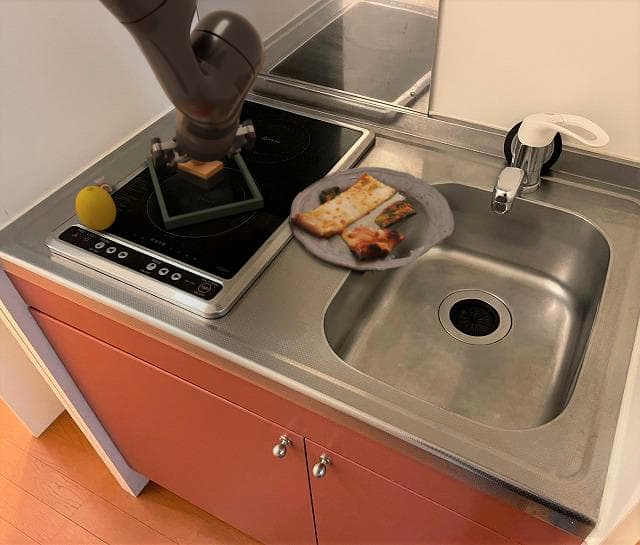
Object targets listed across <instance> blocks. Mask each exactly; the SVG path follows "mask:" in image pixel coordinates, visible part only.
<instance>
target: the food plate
mask: <svg viewBox="0 0 640 545" xmlns="http://www.w3.org/2000/svg"><path fill="white" fill-rule="evenodd" d="M395 194H398V195H400V196H402V197H404V198H403V199H401V200H395V201H394V202H392V203H391V204H390V205H388V206H386V207H385V208H384V209H383V210H382V211H381V212H380V213H379V214H378V215H377V216H376V217H375V218H374V220H373V223H374V224H375V225H377V227H379V228H380V229H376V228H370V226H363V224H362V223H360V224H359V227H358V226H355V227H354V230H350V229H347V228H348V227H350V226H351V225H353V224H354V223H355V222H357V221H359V220H361V219H362V218H365V217H366V216H367V215H368V214H370V213H371V212H372V211H374V210H376V209H377V207H379V206H381V205H383V204H384V203H387V202H388V201H389V200H391V199H392V197H393V196H394V195H395ZM408 200H410V201H411V202H413V203H414V204H416V205H417V206H418V208H419V209H421V211H422V212H423V214H424V217H425V220H426V228H425V232H424V238H425V239H427V241H428V242H427V244H424V245H423V249H422V250H421V251H414V250H409V256H406V257H402V258H396V256H395V255H393V254H392V255H390V253H391V252H392V251H393V250H394V249H395V248H397V246H398V245H400V244H401V243H402V244H403V241H404V240H405V236H404V235H403V234H401V233H399V231H398V230H397V229H392V230H389V231H388V229H387V227H388V226H390V225H393V224H395V223H397V222H401V221H403V220H405V219H407V218H409V217H413V216H414V215H417V212H416V210H414V206H413V205H411V203H410V202H409V201H408ZM289 211H290V212H289V217H288V221H287V223H288V225H289V228H290V229H291V235H292V236H293V237H294V238H295V239H296V240H297V242H298V243H299V244H300V245H301V246H302V247H304V249H305V250H306V251H307V252H309V254H311V255H312V256H313V257H314V258H316V259H317V260H320V261H321V262H323V263H326V264H330V265H333V266H336V267H337V266H338V267H342V268H346V269H350V270H352V271H355V272H364V273H366V272H367V273H368V272H371V274H374V272H378V273H381V272H384V271H386V270H387V269H391V270H392V271H396V270H398V269H401V268H403V267H405V266H407V265H410V264H411V263H412V262H414V261H415V260H416V259H418V258H420V257H422V256H424V254H427V253H428V252H429V251H430V250H431V249H433V248H434V247H436V246H438V245H439V243H441V242H442V241H443V240H444V239H446V238H449V237H451V236H452V233H453V231H454V228H455V220H454V214H453V212H452V210H451V207H450V205H449V203H448V200H447V198H446V197H444V195H443V194H442V193H441V192H439V190H438V189H437V187H436V186H435V187H434V186H433V184H431V183H429V182H427V181H425V180H423V179H421V178H419V177H416V176H415V175H414V174H411V173H410V172H406V171H402V170H397V169H391V168H389V167H381V166H360V167H354V168H348V169H343V170H341V169H340V170H336V171H334V172H331V173H330V174H328V175H326V176H324V177H322V178H320V179H319V180H316V182H313V183H312V184H310V185H309V186H307V187H306V188H304V189H303V190H301V191H300V192H299V193H298V194H297V195H296V196H295V197H294V199H293V200H292V203H291V205H290V210H289ZM336 235H337V236H340V239H341V240H342V241H343V242H344V243H345V244H346V246H347V247H348V249H349V252H350V253H351V254H350V253H343V252H342V251H341V250H339V248H333V247H332V246H331V244H330V242H329V239H330V238H332V237H335V236H336ZM420 242H421V239H420V240H419V241H418V242H417V243H418V244H420ZM412 248H413V247H411V249H412ZM395 258H396V259H395ZM374 270H375V271H374Z"/></svg>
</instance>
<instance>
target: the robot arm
mask: <svg viewBox="0 0 640 545" xmlns="http://www.w3.org/2000/svg"><path fill="white" fill-rule="evenodd" d="M98 2H100V3H101V5H102V6H103V7H104V8H105V9H106V10H107V11H108V12H109V13H110V14H111V15H112V16H113V17H114V18H115V19H116V21H118V22H119V24H121V26H122V27H124V28H125V30H126V31H127V32H128V33H129V35H130V36H131V38H132V39H133V41H134V42H135V44H136V46H137V47H138V49H139V50H140V52H141V54H142V56H143V57H144V59H145V60H146V62H147V64H148V66H149V67H150V69H151V71H152V73H153V75H154V78H156V81H157V82H158V84H159V86H160V88H161V89H162V91H163V92H164V95H165V96H166V97H167V99H168V100H169V101H170V104H172V105H173V106H174V108H175V135H174V136H173V137H172V139H171V140H169V141H165V140H164V139H161V137H153V138H151V139H150V147H149V148H150V149H149V150H150V154H151V156H152V157H153V161H154V169H155V168H157V169H160V168H162V167H164V165H166V167H167V169H172V171H177V170H178V163H187V162H189V161H191V160H193V159H194V160H197V161H200V162H213V161H220V160H221V159H223V158H224V157H225V156H227V157H228V160H231V159H232V160H233V159H235V158H234V156H235V155H237V154H238V153H240V152H242V149H243V148H245V150H252V149H253V148H254V147H255V143H256V139H257V136H256V131H255V128H254V124H253V121H252V119H246V120H244V121H243V122H242V124H240V117H241V114H242V111H243V104H244V103H245V100H246V98H247V96H248V94H249V93H250V91H251V88H252V87H253V85H254V83H255V82H256V80H257V78H258V75H259V74H260V72H261V70H262V67H263V65H264V61H265V57H266V56H265V54H266V53H265V45H264V42H263V39H262V37H261V34H260V32H259V31H258V29H257V27H256V26H255V25H254V24H253V23H252V22H251V21H250V20H249V19H248V18H247V17H245V16H244V15H243V14H241V13H238V12H236V11H233V10H230V9H217V10H213V11H210V12H207V13H206V14H205V15H203V16H202V17H201V18H200V19H199V21H197V23H196V24H195V26H194V27H193V29H192V24H193V21H194V17H195V15H196V11H197V8H198V3H199V0H98ZM191 29H192V31H191ZM185 154H186V156H185ZM164 163H166V164H164Z"/></svg>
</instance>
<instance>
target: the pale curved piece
mask: <svg viewBox="0 0 640 545" xmlns="http://www.w3.org/2000/svg"><path fill="white" fill-rule="evenodd" d="M104 179H105V176H101V177H99V178H98V179H94V180H93V181H94V183H96V185H95V186H97V187H100V188H102V189H104V190H106V191H107V192H108V193H111V192H113V187H112V186H111V185H110V184H109V183H106V182H104Z"/></svg>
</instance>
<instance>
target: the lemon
mask: <svg viewBox="0 0 640 545" xmlns="http://www.w3.org/2000/svg"><path fill="white" fill-rule="evenodd" d="M75 211H76V215H77V217H78V219H79V221H80V222H81V223H82V225H84V227H86V228H87V229H90V230H92V231H105V230H106V229H108V228H110V227H111V226H112V225H113V224H114V222H115V221H116V217H117V207H116V205H115V202H114V199H113V198H112V196H111V194H110V192H107V191H106V190H104V189H102V188H100V187H97V186H96V185H88V186H86V187H84V188H82V189H81V190H80V191H79V192H78V193H77V195H76V198H75Z"/></svg>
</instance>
